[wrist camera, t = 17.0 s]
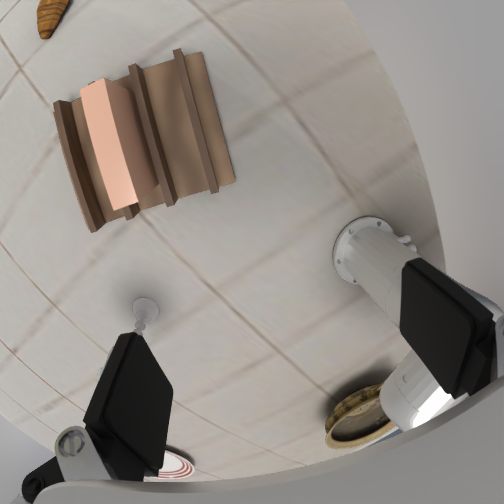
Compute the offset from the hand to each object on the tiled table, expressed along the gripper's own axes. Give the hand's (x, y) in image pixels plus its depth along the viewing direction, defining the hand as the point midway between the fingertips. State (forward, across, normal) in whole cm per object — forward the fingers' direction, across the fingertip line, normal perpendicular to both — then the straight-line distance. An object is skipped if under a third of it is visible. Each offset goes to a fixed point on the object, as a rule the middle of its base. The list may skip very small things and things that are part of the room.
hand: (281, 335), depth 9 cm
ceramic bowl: (+37, -16, +60) cm, 73 cm away
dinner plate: (+35, +49, +71) cm, 93 cm away
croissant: (+33, +22, -42) cm, 58 cm away
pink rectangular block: (+32, +12, -11) cm, 36 cm away
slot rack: (+34, +12, -11) cm, 38 cm away
